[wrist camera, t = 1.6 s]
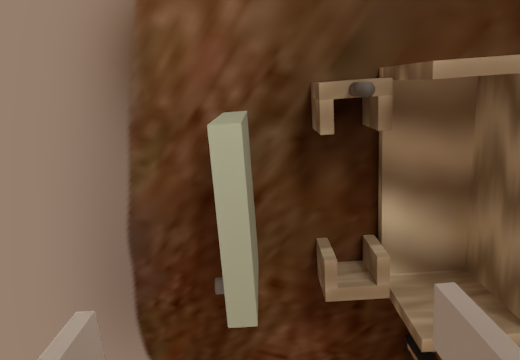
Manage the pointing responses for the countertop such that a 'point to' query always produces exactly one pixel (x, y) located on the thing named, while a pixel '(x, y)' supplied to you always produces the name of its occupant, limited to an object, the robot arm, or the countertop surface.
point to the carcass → (436, 189)
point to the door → (235, 217)
